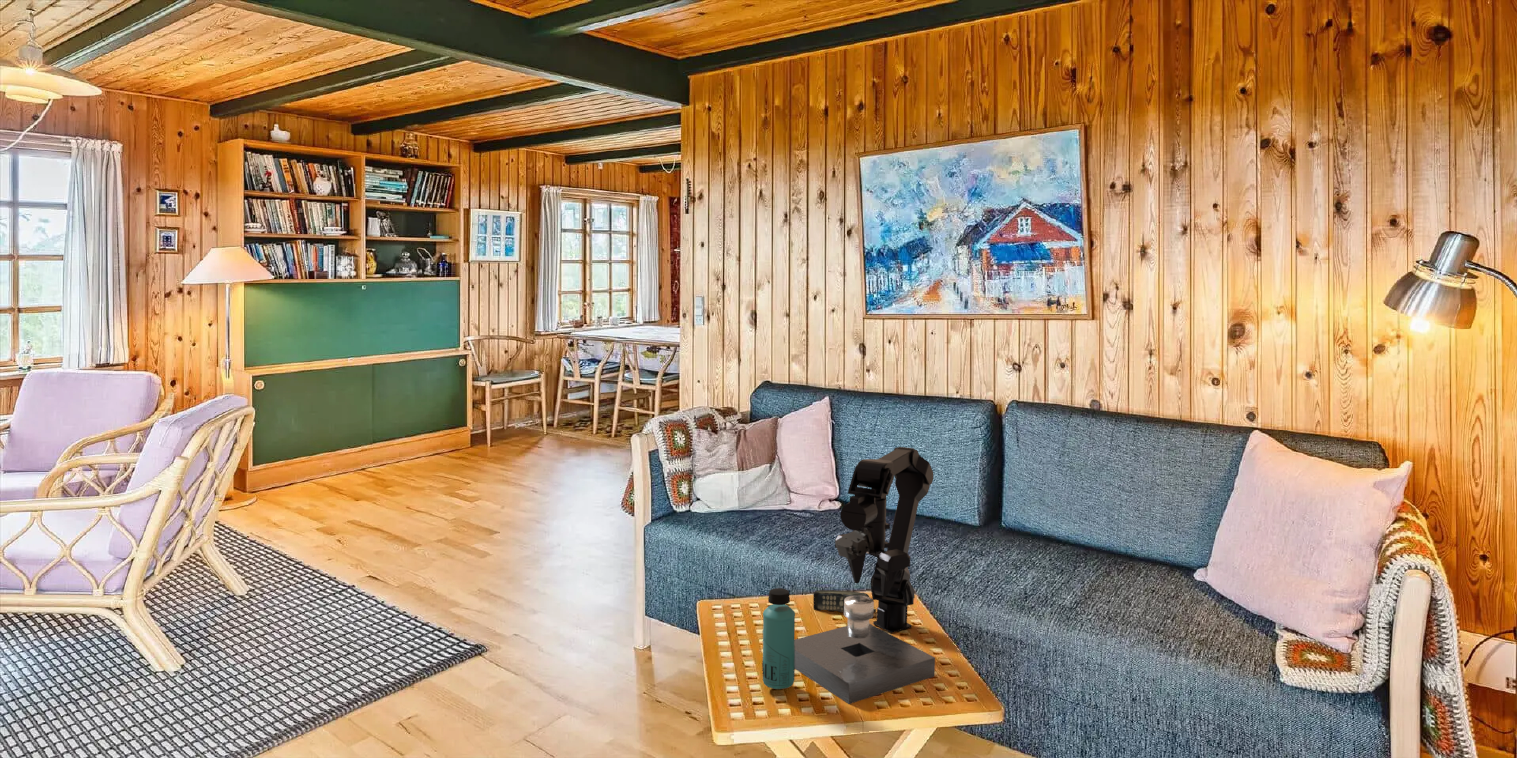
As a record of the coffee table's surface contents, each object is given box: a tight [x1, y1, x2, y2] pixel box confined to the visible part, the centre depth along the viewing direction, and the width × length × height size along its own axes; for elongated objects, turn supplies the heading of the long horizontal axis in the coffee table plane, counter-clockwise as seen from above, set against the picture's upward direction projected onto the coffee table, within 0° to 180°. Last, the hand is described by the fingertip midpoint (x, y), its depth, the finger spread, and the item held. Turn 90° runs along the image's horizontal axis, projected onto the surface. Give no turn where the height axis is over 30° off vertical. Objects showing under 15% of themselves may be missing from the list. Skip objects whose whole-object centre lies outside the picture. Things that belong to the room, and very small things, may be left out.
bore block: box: [794, 623, 936, 705], centre depth 180 cm, size 22×22×4 cm
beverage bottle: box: [761, 587, 796, 690], centre depth 170 cm, size 6×7×20 cm
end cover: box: [843, 595, 875, 638], centre depth 179 cm, size 6×6×7 cm
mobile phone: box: [812, 589, 877, 613], centre depth 212 cm, size 5×3×15 cm
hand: (870, 589), depth 190 cm, fingers open, 9 cm apart
